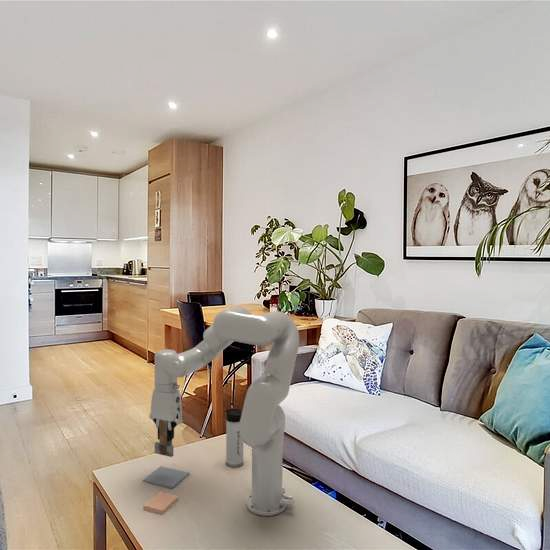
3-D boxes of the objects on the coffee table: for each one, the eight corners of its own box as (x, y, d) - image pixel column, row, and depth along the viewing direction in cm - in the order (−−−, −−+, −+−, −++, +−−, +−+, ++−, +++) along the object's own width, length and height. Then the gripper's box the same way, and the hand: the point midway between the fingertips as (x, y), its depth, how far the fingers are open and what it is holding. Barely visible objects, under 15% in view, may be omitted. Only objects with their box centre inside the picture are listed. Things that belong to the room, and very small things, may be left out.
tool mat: (189, 474, 150) (189, 472, 150) (172, 488, 140) (172, 487, 140) (161, 467, 154) (161, 466, 154) (142, 481, 145) (142, 479, 145)
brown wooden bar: (176, 453, 147) (177, 413, 146) (171, 457, 144) (171, 416, 143) (159, 449, 150) (160, 410, 149) (154, 453, 147) (154, 413, 146)
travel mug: (227, 458, 161) (227, 406, 160) (244, 459, 160) (245, 407, 159) (223, 466, 155) (223, 412, 154) (241, 468, 154) (241, 414, 153)
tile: (178, 496, 134) (163, 510, 127) (178, 501, 134) (163, 516, 127) (159, 491, 136) (143, 505, 129) (159, 497, 136) (143, 511, 129)
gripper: (192, 386, 146) (192, 438, 147) (153, 380, 152) (153, 430, 153) (179, 393, 139) (179, 448, 140) (139, 386, 145) (139, 439, 146)
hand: (165, 438), depth 147 cm, fingers closed on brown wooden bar, 3 cm apart
